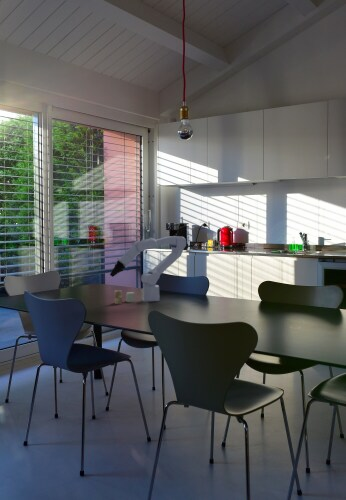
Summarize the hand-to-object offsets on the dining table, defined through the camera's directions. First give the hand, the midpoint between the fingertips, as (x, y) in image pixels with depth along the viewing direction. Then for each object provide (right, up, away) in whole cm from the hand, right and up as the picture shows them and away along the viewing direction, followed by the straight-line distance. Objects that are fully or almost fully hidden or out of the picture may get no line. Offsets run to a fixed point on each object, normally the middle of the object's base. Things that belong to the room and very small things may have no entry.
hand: (111, 274), depth 289 cm
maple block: (+3, -16, +3) cm, 17 cm away
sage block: (+10, -16, +9) cm, 21 cm away
